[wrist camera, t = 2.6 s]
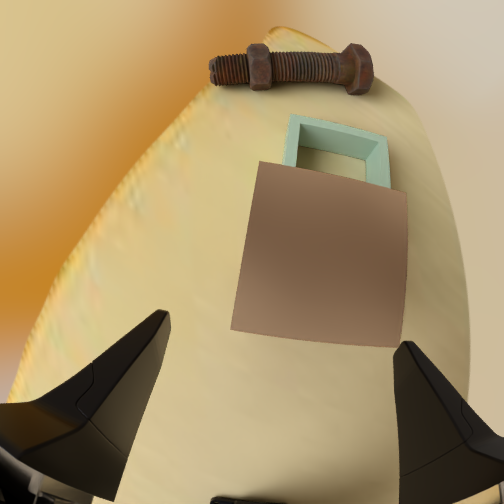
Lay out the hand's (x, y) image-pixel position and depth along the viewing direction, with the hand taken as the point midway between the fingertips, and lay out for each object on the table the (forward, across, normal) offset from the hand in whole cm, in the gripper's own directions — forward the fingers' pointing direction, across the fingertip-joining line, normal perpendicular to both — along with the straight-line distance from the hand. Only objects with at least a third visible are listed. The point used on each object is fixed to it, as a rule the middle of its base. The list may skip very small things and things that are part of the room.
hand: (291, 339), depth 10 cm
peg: (+8, 0, +5) cm, 10 cm away
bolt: (+23, +1, -9) cm, 25 cm away
